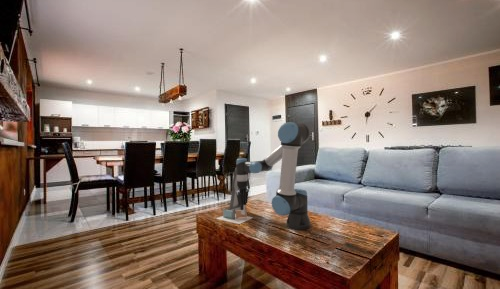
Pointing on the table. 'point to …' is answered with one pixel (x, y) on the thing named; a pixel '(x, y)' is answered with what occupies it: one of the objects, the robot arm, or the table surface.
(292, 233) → the table surface
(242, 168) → the robot arm
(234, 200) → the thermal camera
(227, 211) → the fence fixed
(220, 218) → the card
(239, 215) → the fence panel
